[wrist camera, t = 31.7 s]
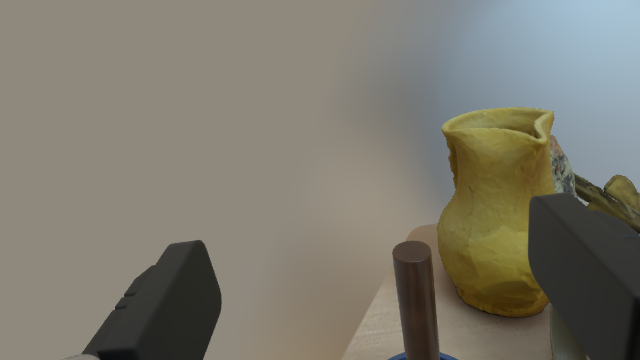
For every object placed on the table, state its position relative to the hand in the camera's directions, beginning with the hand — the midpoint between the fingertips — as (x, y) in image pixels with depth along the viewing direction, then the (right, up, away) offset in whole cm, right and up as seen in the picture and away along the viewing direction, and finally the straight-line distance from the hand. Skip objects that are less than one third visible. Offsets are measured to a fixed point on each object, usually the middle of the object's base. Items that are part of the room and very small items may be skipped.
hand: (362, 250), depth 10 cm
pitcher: (+25, -13, +50) cm, 58 cm away
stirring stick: (+10, -24, +31) cm, 40 cm away
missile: (+48, +2, +56) cm, 74 cm away
